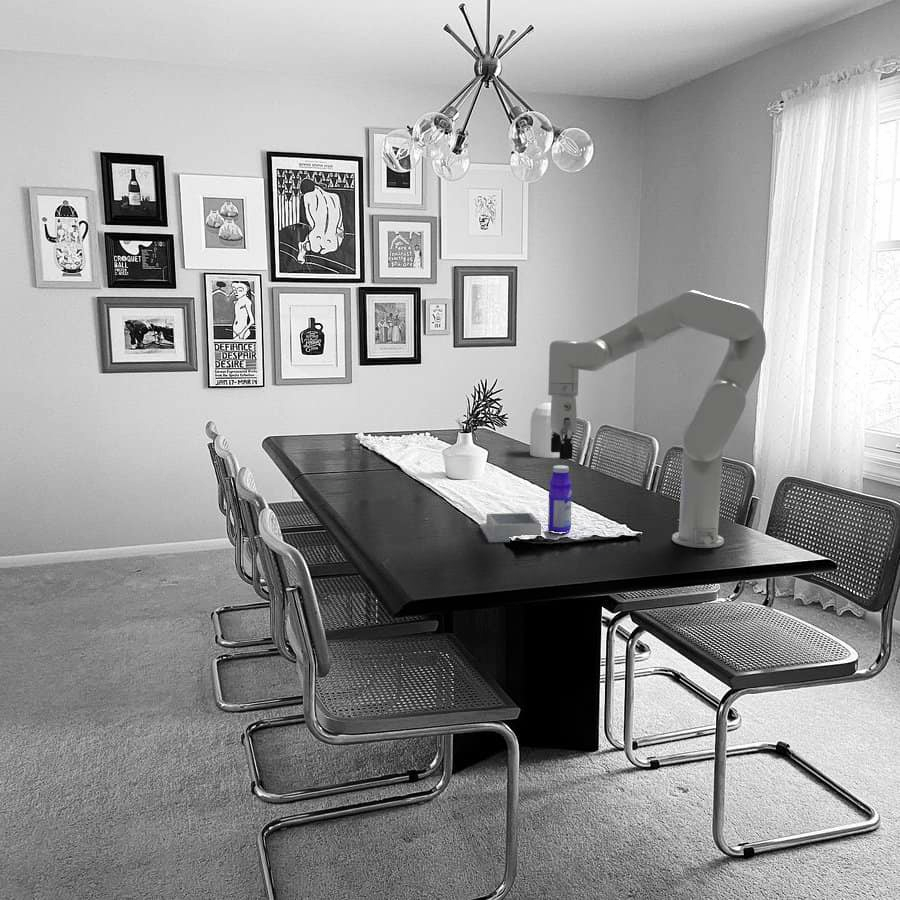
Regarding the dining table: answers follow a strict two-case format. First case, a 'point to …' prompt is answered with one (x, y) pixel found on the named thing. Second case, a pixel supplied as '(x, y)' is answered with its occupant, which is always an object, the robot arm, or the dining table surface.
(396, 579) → the dining table surface
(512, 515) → the shallow grey tray
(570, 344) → the robot arm
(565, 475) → the bottle
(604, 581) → the dining table surface
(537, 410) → the container
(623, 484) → the dining table surface
